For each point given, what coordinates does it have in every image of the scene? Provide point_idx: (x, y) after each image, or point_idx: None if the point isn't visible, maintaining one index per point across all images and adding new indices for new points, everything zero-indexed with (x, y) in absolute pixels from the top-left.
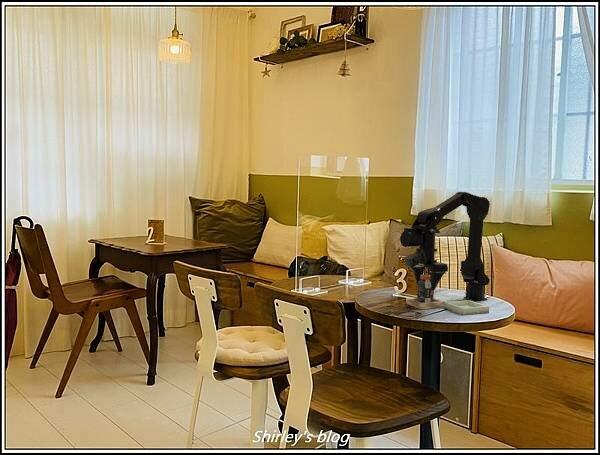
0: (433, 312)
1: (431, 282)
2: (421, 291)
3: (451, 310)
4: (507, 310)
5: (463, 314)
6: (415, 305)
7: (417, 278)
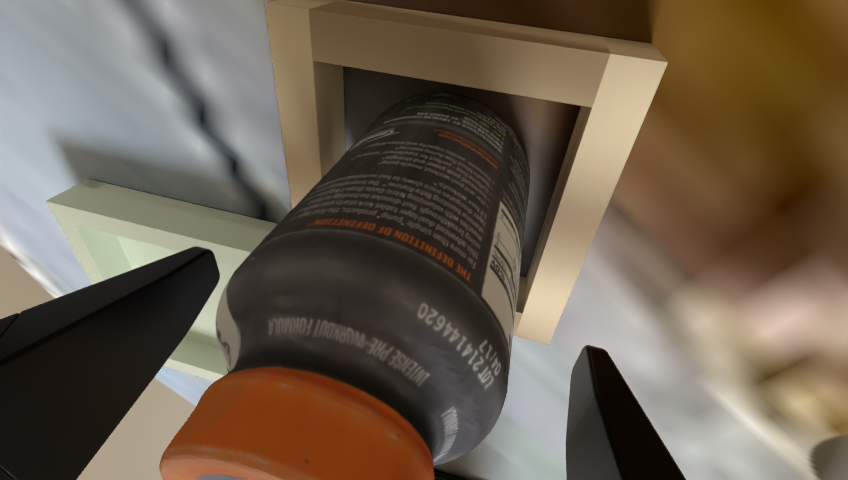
0: (158, 21)
1: (69, 310)
2: (342, 173)
3: (210, 208)
4: (196, 402)
5: (86, 181)
6: (415, 14)
7: (612, 476)
